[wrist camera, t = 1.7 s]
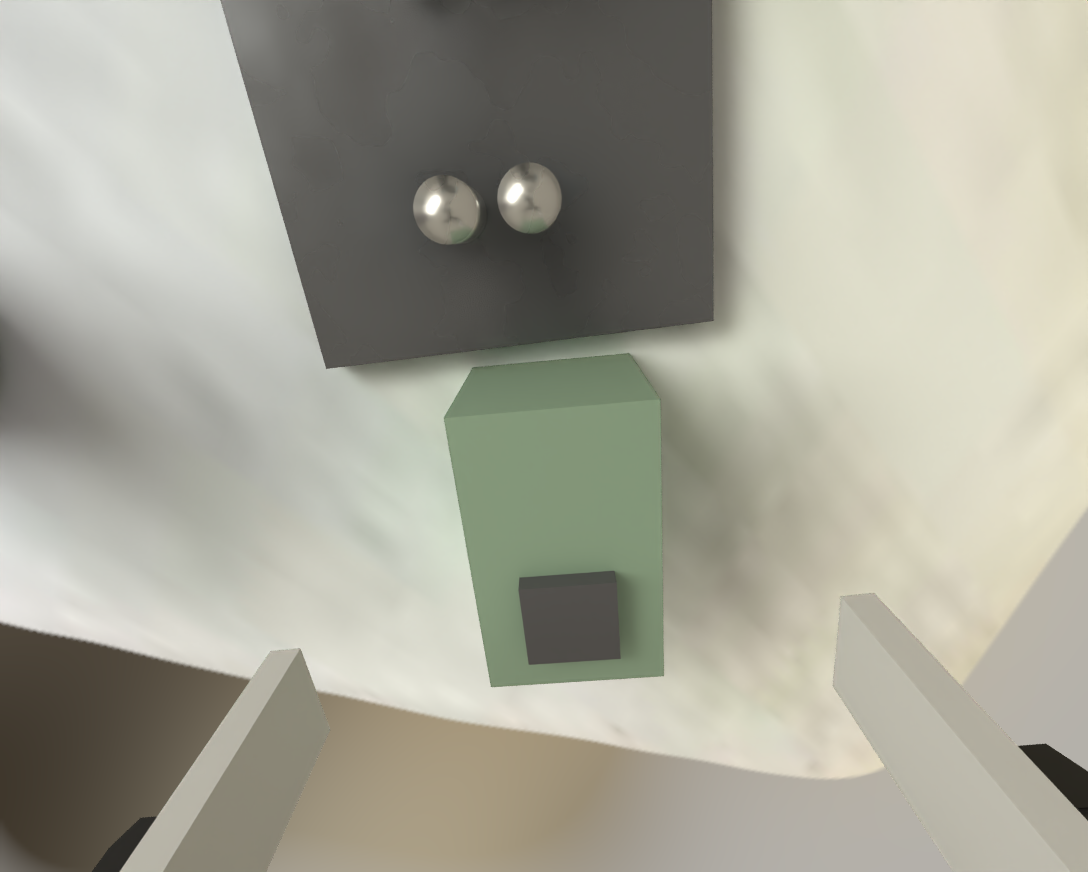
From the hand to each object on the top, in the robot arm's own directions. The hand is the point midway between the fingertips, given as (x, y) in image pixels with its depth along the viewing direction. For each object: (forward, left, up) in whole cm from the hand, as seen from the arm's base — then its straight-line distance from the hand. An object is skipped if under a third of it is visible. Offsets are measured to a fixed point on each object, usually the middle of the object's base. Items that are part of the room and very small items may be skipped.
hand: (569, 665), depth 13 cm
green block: (0, 0, -10) cm, 10 cm away
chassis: (-14, -1, -10) cm, 17 cm away
